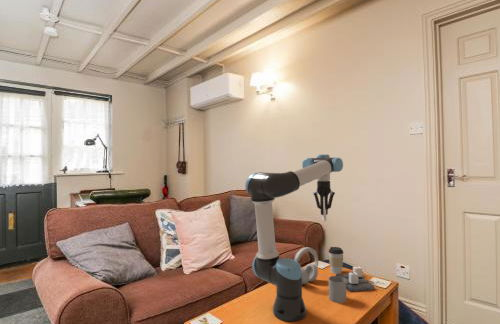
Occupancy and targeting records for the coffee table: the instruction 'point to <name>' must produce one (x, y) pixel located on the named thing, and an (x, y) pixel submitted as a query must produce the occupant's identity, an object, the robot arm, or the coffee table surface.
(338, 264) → the coffee cup
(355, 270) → the block
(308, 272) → the headphones
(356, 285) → the console
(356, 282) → the block
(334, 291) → the cup
